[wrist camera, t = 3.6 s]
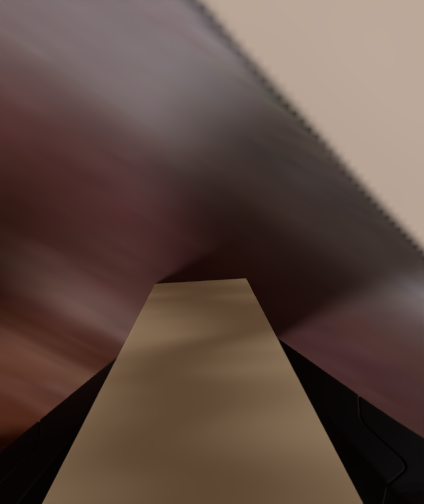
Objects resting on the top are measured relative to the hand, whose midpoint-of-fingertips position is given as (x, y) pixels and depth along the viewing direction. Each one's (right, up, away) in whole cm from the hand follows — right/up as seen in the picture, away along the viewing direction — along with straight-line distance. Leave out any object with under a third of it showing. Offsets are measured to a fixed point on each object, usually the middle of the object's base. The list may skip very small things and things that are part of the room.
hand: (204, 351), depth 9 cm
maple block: (0, 0, +2) cm, 2 cm away
